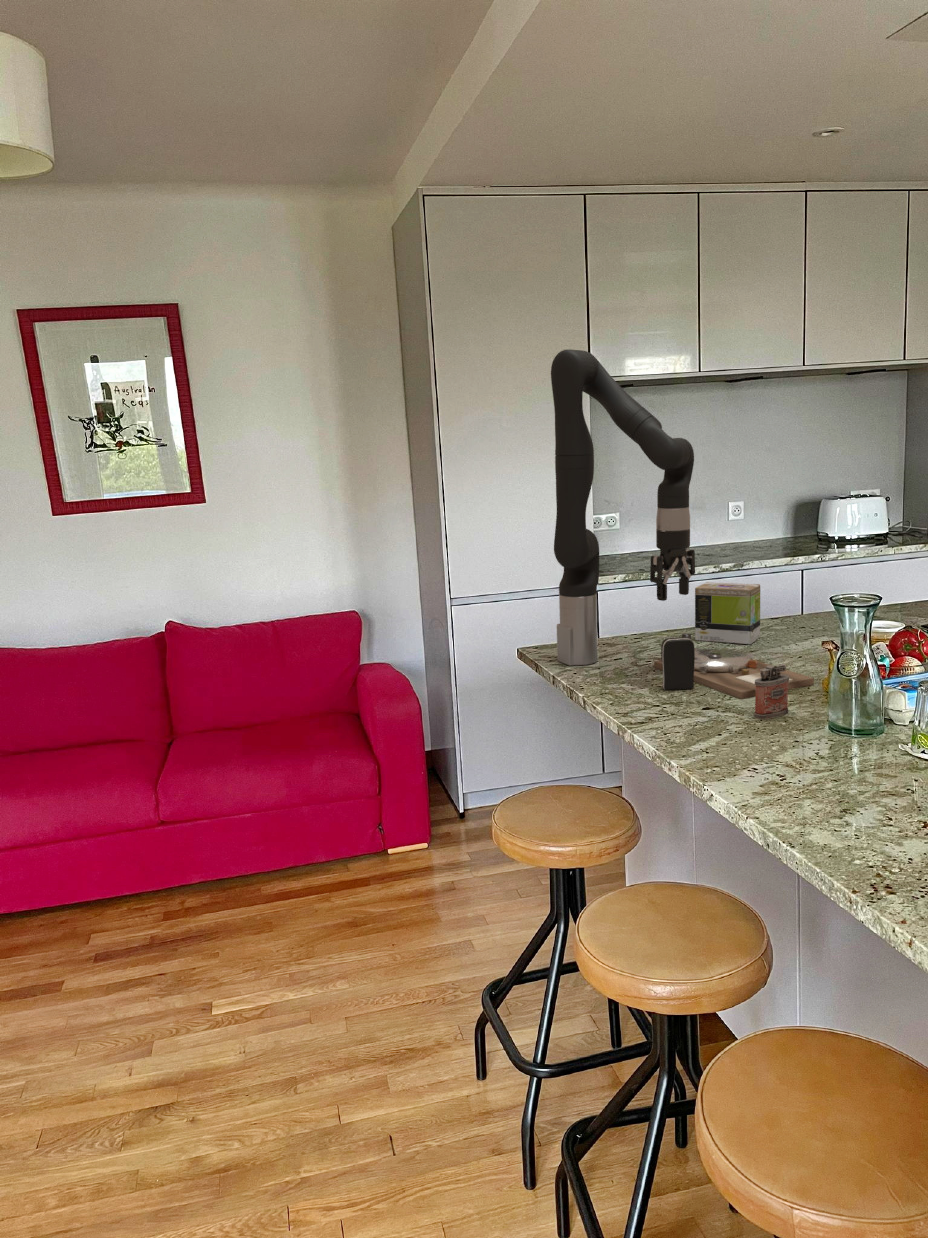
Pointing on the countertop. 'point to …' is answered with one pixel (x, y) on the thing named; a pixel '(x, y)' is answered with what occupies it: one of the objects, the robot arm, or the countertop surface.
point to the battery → (678, 663)
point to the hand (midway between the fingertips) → (673, 597)
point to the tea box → (727, 612)
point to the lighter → (771, 693)
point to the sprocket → (721, 660)
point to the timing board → (742, 680)
